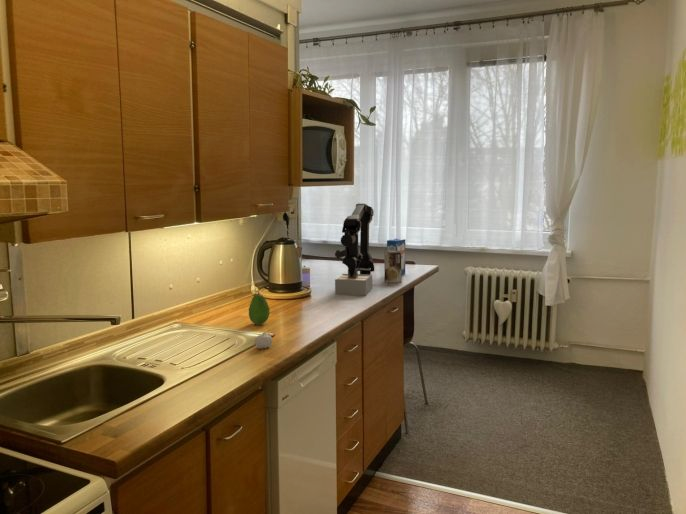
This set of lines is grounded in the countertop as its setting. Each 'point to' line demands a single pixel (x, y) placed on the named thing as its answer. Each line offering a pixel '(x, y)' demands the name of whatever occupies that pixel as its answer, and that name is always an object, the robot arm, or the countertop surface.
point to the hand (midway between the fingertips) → (352, 275)
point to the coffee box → (392, 266)
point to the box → (353, 286)
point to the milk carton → (398, 246)
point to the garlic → (263, 341)
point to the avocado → (258, 310)
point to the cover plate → (360, 277)
